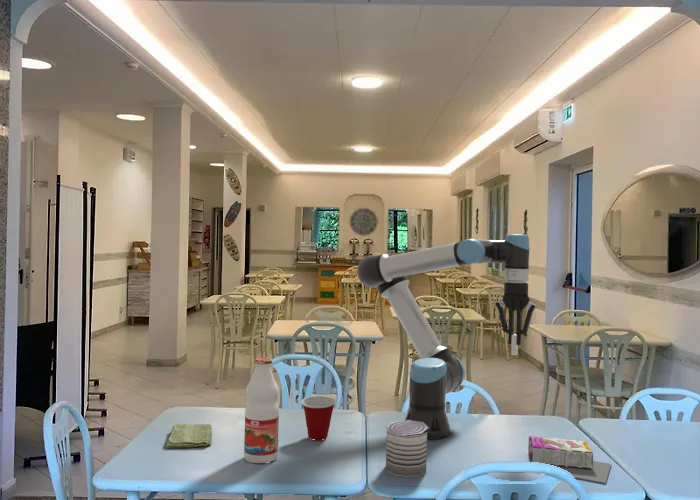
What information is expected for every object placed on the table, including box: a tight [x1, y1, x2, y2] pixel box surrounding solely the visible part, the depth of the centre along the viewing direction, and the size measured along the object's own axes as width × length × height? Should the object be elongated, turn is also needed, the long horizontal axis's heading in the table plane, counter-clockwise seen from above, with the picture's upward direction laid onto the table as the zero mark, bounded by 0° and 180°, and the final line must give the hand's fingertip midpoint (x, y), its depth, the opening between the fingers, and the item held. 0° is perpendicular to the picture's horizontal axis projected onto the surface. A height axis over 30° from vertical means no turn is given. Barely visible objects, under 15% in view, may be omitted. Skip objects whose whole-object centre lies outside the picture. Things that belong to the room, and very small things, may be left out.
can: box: [384, 419, 429, 478], centre depth 163 cm, size 11×11×12 cm
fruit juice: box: [243, 357, 280, 464], centre depth 169 cm, size 9×9×28 cm
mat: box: [557, 460, 612, 485], centre depth 168 cm, size 20×16×1 cm
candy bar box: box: [527, 435, 594, 469], centre depth 172 cm, size 11×5×16 cm
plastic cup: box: [300, 395, 337, 441], centre depth 188 cm, size 11×11×12 cm
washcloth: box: [166, 423, 213, 449], centre depth 184 cm, size 13×18×3 cm
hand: (514, 354), depth 195 cm, fingers closed
